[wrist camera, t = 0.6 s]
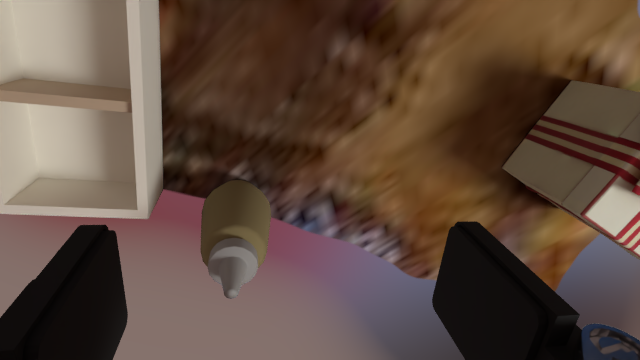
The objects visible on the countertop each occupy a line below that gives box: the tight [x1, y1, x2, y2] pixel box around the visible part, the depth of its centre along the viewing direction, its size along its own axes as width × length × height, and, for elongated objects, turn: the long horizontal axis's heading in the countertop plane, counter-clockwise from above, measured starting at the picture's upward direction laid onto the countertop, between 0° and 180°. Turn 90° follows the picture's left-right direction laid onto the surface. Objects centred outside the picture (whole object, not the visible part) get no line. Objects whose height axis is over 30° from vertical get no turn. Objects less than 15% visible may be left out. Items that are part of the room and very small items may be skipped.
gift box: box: [502, 80, 640, 260], centre depth 45 cm, size 17×18×17 cm
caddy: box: [0, 0, 163, 219], centre depth 37 cm, size 24×14×8 cm, turn 172°
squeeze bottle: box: [201, 180, 271, 299], centre depth 40 cm, size 8×8×18 cm
